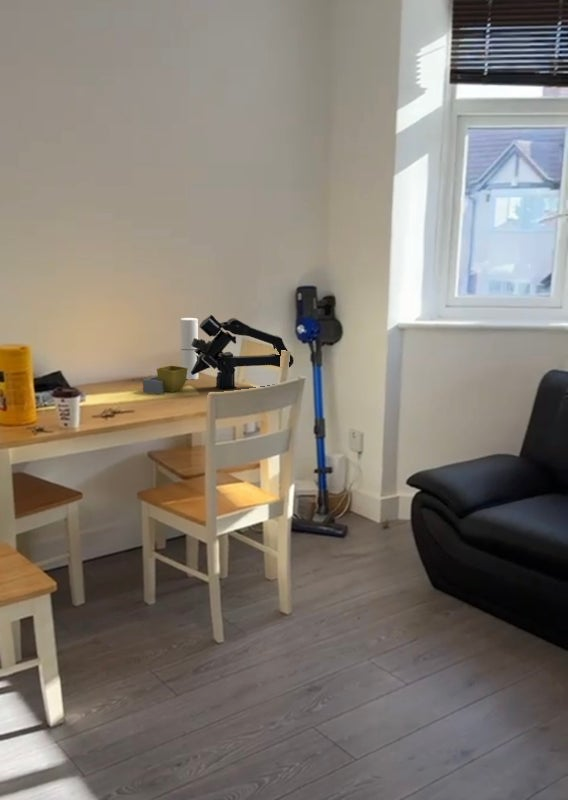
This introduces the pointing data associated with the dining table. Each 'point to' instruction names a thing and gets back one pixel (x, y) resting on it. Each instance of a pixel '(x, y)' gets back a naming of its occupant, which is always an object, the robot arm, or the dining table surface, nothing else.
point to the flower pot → (172, 377)
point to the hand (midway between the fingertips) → (191, 374)
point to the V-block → (153, 385)
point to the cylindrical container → (189, 345)
